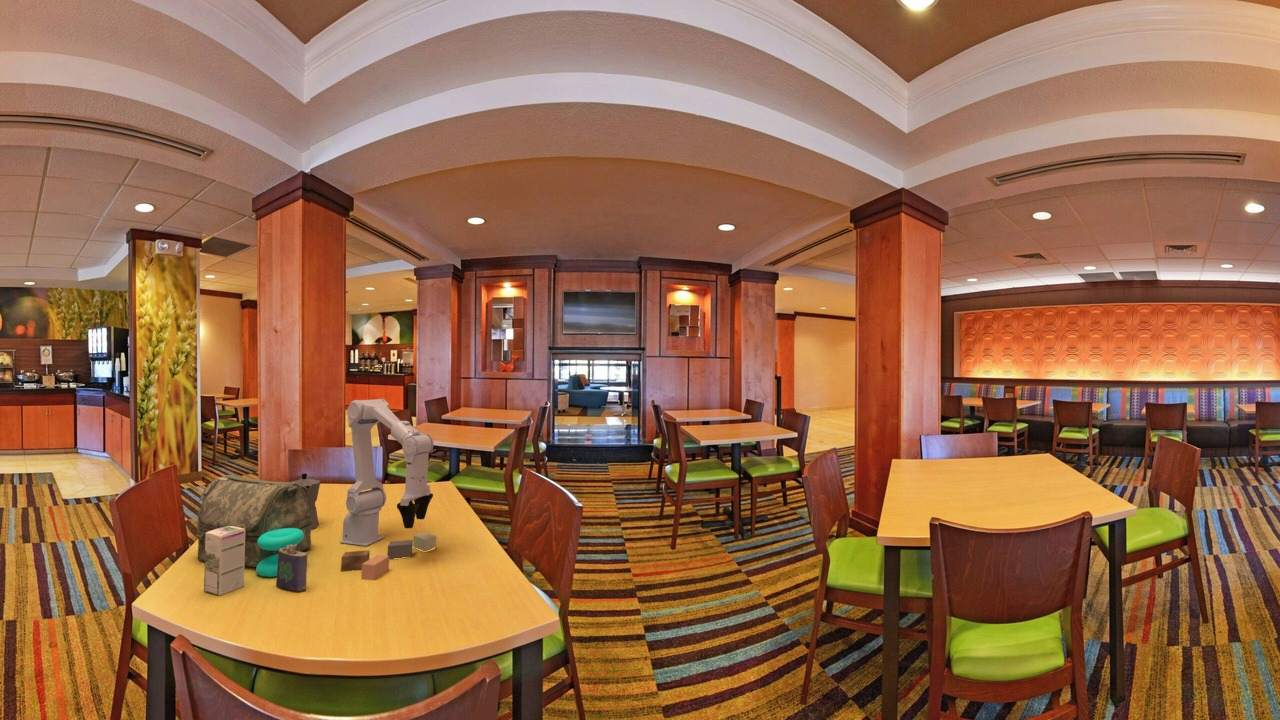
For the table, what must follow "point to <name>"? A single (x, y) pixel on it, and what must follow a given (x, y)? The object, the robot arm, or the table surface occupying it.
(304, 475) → the coffeepot
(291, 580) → the flask
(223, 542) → the syrup box
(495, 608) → the table surface
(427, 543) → the sage block
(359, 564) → the walnut block
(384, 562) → the terracotta block
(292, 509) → the lunch bag
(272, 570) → the donuts
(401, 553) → the charcoal block
